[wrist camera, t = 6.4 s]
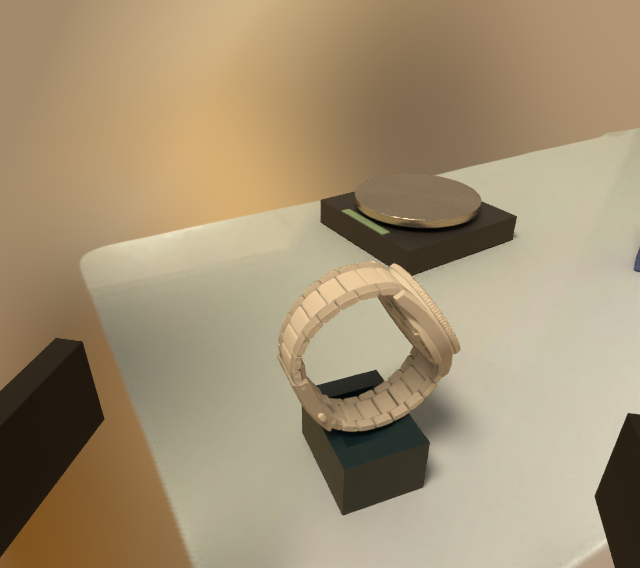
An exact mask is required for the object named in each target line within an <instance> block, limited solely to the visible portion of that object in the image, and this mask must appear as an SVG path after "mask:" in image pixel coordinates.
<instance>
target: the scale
mask: <svg viewBox="0 0 640 568" xmlns="http://www.w3.org/2000/svg"><path fill="white" fill-rule="evenodd" d="M354 196H355V192H351V193H347V194H343V195H339V196H335V197H331V198H326V199H322V200H321V223H323V224H324V225H326V226H328V227H329V228H331V229H332V230H334V231H335V232H337V233H338V234H340V235H342V236H343V237H345V238H346V239H348V240H349V241H351V242H352V243H354V244H356V245H357V246H359V247H360V248H362V249H363V250H365V251H366V252H368V253H370V254H371V255H373V256H374V257H376V258H377V259H379V260H380V261H382V262H384V263H385V264H387V265H388V266H391V265H392V264H397V265H399V266H400V267H402V268H403V269H404V270H406V271H407V272H409V273H410V274H411V275H414V274H417V273H419V272H422V271H425V270H428V269H431V268H433V267H436V266H439V265H442V264H445V263H448V262H450V261H453V260H456V259H459V258H462V257H464V256H467V255H470V254H473V253H476V252H479V251H481V250H484V249H487V248H490V247H493V246H496V245H498V244H501V243H504V242H507V241H510V240H512V238H513V233H514V229H515V224H516V219H517V216H515V215H513V214H510V213H508V212H506V211H503V210H501V209H498V208H496V207H494V206H491V205H489V204H487V203H484V202H482V201H481V207H480V211H479V213H478V214H477V215H476V217H474V218H473V219H471V220H469V221H467V222H465V223H462V224H459V225H455V226H449V227H442V228H412V227H403V226H398V225H393V224H388V223H385V222H381V221H378V220H376V219H373V218H371V217H369V216H367V215H366V214H364V213H362V212H361V211H360V210H359V209H358V208H357V206H356V204H355V200H354Z"/></svg>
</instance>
